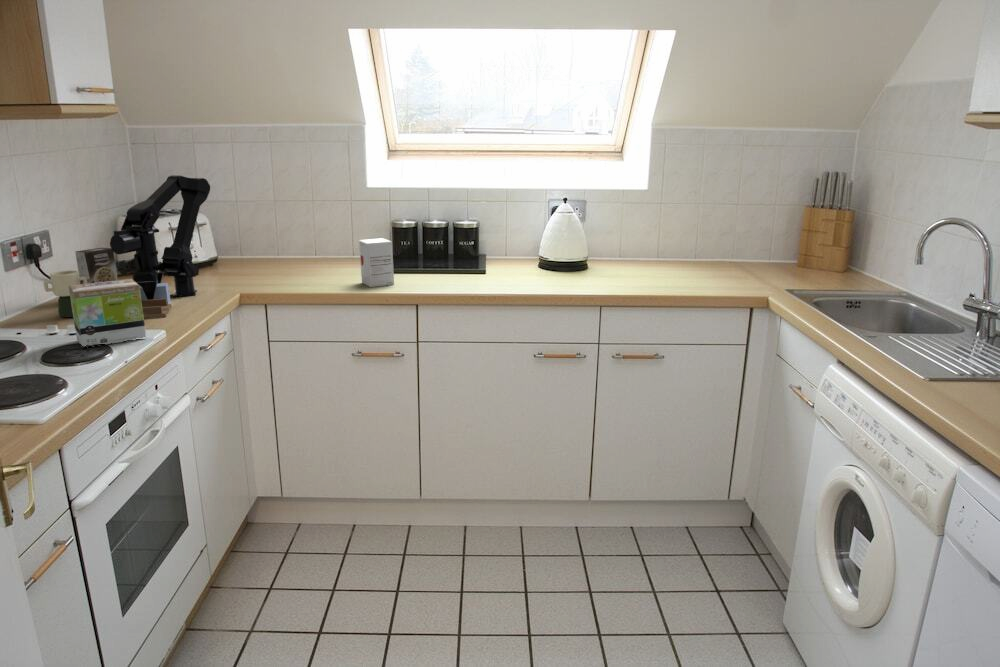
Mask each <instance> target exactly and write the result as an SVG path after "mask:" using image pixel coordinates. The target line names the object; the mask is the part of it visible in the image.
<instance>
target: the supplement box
mask: <svg viewBox="0 0 1000 667" xmlns="http://www.w3.org/2000/svg"><path fill="white" fill-rule="evenodd" d="M358 244H359V246H358V247H359V258H360V259H359V262H360V276H361V283H363V285H366V286H367V287H368V288H375V287H383V286H389V285H390V286H391V285H395V276H394V275H395V274H394V258H393V257H394V256H393V255H394V254H393V241H392V240H390V239H389V240H388V239H385V237H379V238H369V239H368V238H367V239H366V238H365V239H359V240H358Z"/></svg>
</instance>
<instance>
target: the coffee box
mask: <svg viewBox="0 0 1000 667" xmlns="http://www.w3.org/2000/svg"><path fill="white" fill-rule="evenodd" d="M74 252H75V258H76V259H75V260H76V264H77V271H78V274H79V277H86V278H87V283H88V284H89V283H98V282H107V281H117V280H119V279H118V270H117V265H116V260H115V258H116V257H115V253H114V252H113V250H112V249H111V247H95V248H89V249H84V250H83V249H82V250H76V251H74ZM80 284H84V282H83V280H80Z"/></svg>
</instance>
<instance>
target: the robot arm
mask: <svg viewBox="0 0 1000 667" xmlns="http://www.w3.org/2000/svg"><path fill="white" fill-rule="evenodd" d="M179 192H180V195H181V198H182V202H183V204H182V208H181V212H180V216H179V219H178V223H177V228H176V232H175V236H174V240H173V243H172V244H171V246H165V247H164V248H163V254H162V257H161V258H160V260H162V261H159V259H158V255H159V251H158V250H157V246H156V238H155V233H159V232H160V229H159V228H157V227H156V226H155V224H156V223H157V221H158V219H159V217H160V214H161V213H160V212H161V211H162V209H163V208H165V206H166V205H168V203H169V202H171V200H172V199H173V198H174V197H175V196H176V195H177V194H178V193H179ZM210 192H211V185H210V183H209V182H208V180H207V179H206V178H204V177H187V176H183V175H179V174H178V175H175V174H174V175H169V176H167V178H166V180H165V181H164V182H162V184H161V185H160V186H159V187H158V188H157V189H156V190H155V191H154V192H153V193H151V194H150V196H149V197H147V199H146V200H144V201H141V202H138V203H135V205H133V206H131V207H129V208H128V210H127V211H126V216H125V219H124V220H123V223H122V226H121V228H120V230H114V231H113V235H112V236H111V238H110V240H109V241H110V242H109V246H110V247H109V248H111V249H112V250H113V252H114V254H116V255H124V254H128V253H132V252H135V253H134V255H133V257H132V258H130V259H127V260H125V259H122V260H121V261H120V260H119V261H118V264H117V265H116V271H117V272H119V273H120V275H121V276H124V275H126V274H128V273H130V272H133V271H135V272H134V274H133V275H132V280H133V281H135V282H136V283H137V284H138V285H140V286H141V287H142V288H143V291H144V293H145V295H146V297H147V300H152V299H154V295H155V290H156V286H157V284H158V283H162V281H163V277H164V274H165V273H166V275H167V277H173V280H174V282H173V283H174V287H175V288H174V289H175V292H174V294H173V297H174V298H175V297H189V296H190V297H191V296H196V295H197V293H196V292H198V290H197V289H195V283H194V282H195V281H194V278H195V277H197V276H199V272H200V268H199V267H198V266H197V265H195V263H193V254H192V251H191V243H192V239H193V235H194V231H195V228H196V223H197V219H198V216H199V212H200V207H201V206H202V205H203V203H205V201H207V199H208V197H209V194H210Z"/></svg>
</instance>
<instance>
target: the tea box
mask: <svg viewBox="0 0 1000 667" xmlns="http://www.w3.org/2000/svg"><path fill="white" fill-rule="evenodd" d="M69 292H70V299H71V305H72V312H73V316H72V318H73V323H74V324H73V325H74V329H75V336H76V340H77V342H78V343H79V345H80V344H81V345H82V346H86V345H93V344H105V345H109V344H110V345H111V343H112V344H117V343H118V344H119V343H124V342H123V341H127V340H133V339H136V338H143V337H146V338H147V331H146V323H145V319H144V316H143V309H142V301H141V293H140V287H139V285H138V284H137V283H136V282H135V281H133V278H127V279H118V280H117V281H107V282H98V283H89V284H80V285H70V286H69ZM127 342H128V341H127ZM81 345H80V346H81ZM82 346H81V347H82Z"/></svg>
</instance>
